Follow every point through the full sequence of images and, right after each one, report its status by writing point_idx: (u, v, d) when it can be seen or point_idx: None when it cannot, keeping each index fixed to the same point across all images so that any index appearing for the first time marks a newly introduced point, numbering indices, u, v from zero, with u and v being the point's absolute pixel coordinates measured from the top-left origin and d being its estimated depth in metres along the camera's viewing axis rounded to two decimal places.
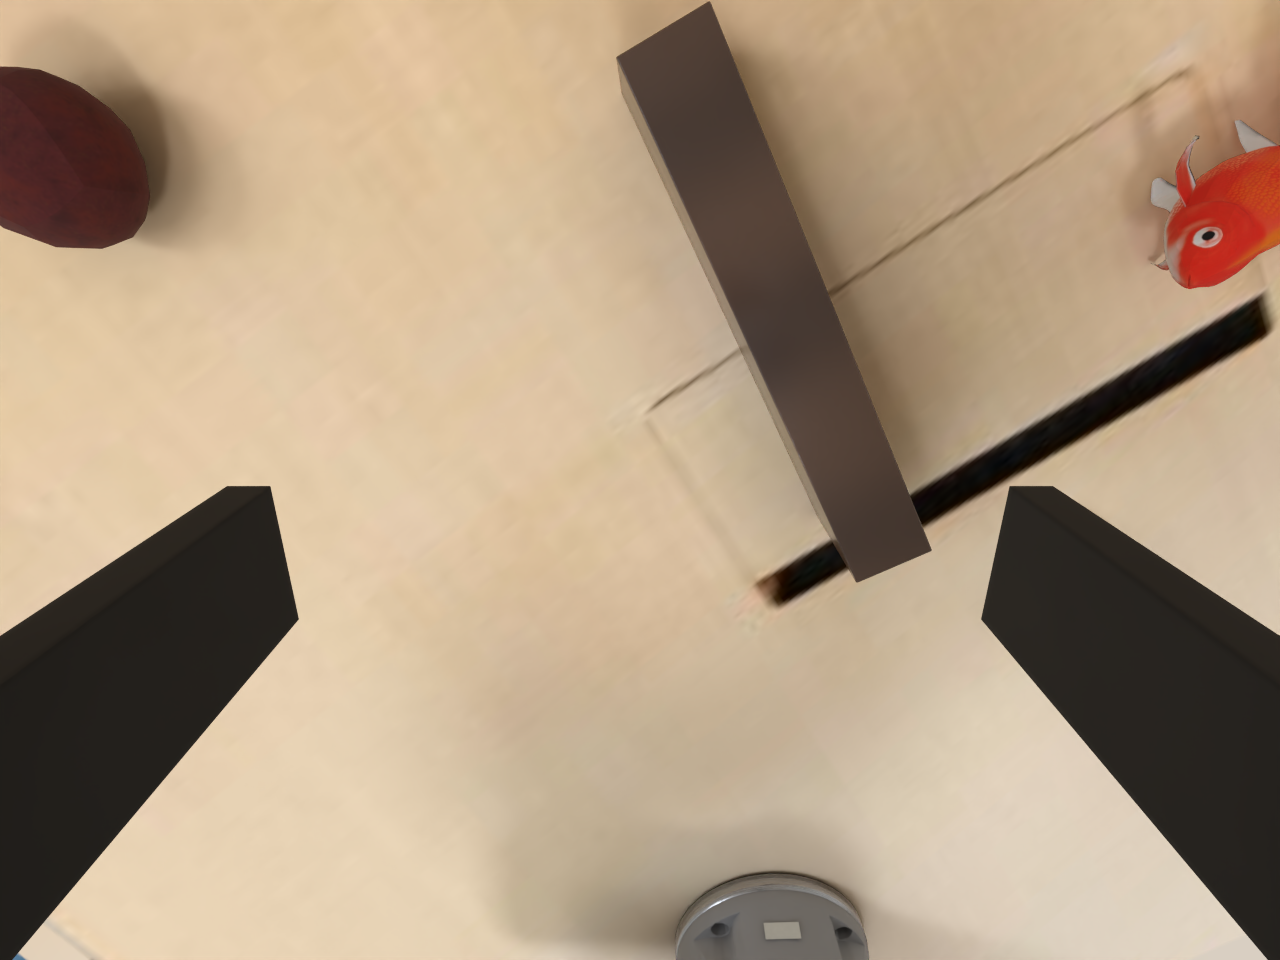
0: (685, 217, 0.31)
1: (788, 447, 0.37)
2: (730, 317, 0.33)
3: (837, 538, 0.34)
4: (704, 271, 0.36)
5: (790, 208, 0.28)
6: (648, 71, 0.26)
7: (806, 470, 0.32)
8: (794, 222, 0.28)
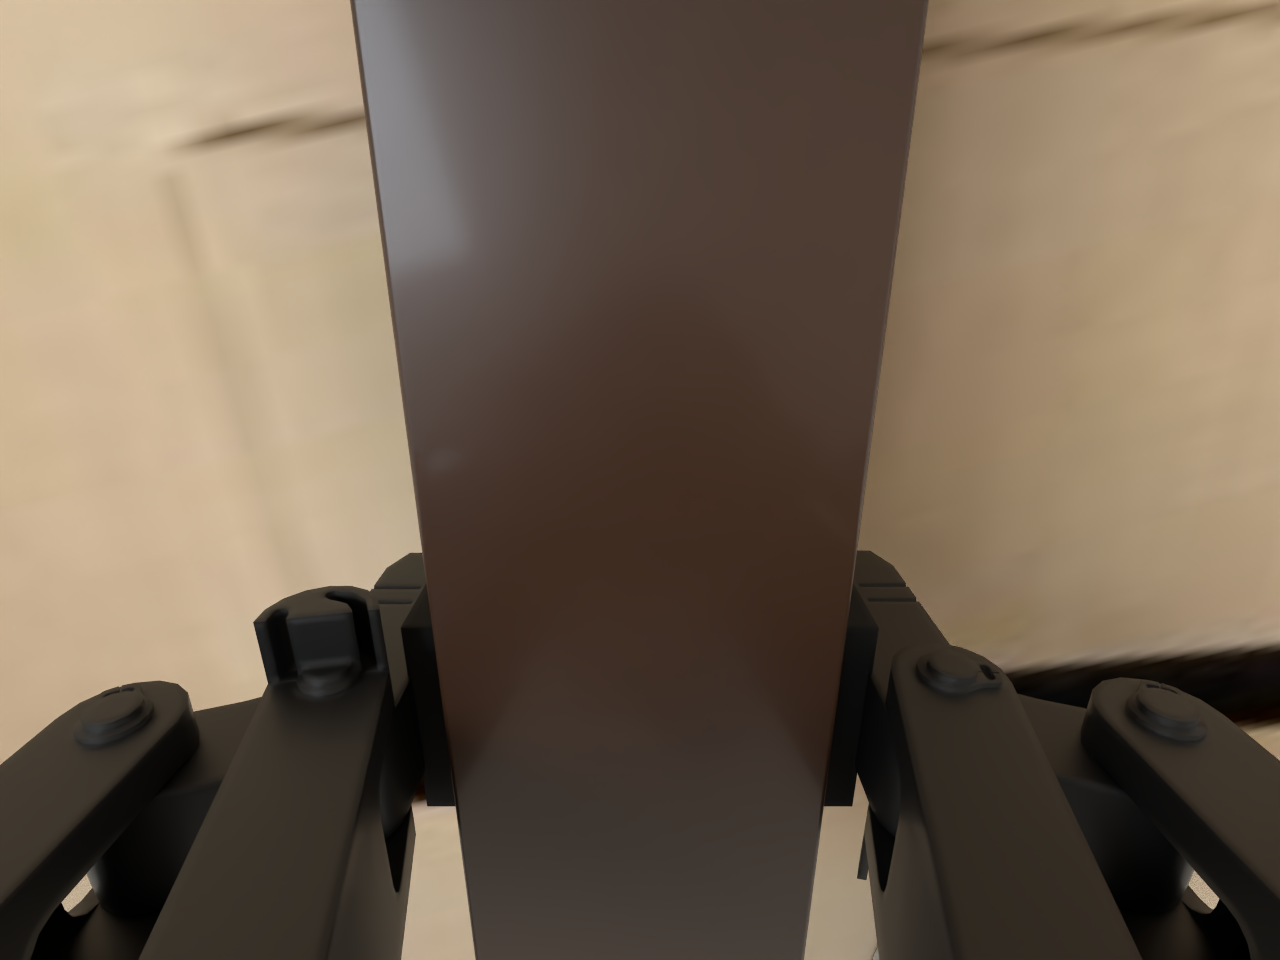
0: None
1: None
2: None
3: (467, 872, 0.08)
4: None
5: None
6: None
7: (427, 554, 0.06)
8: None
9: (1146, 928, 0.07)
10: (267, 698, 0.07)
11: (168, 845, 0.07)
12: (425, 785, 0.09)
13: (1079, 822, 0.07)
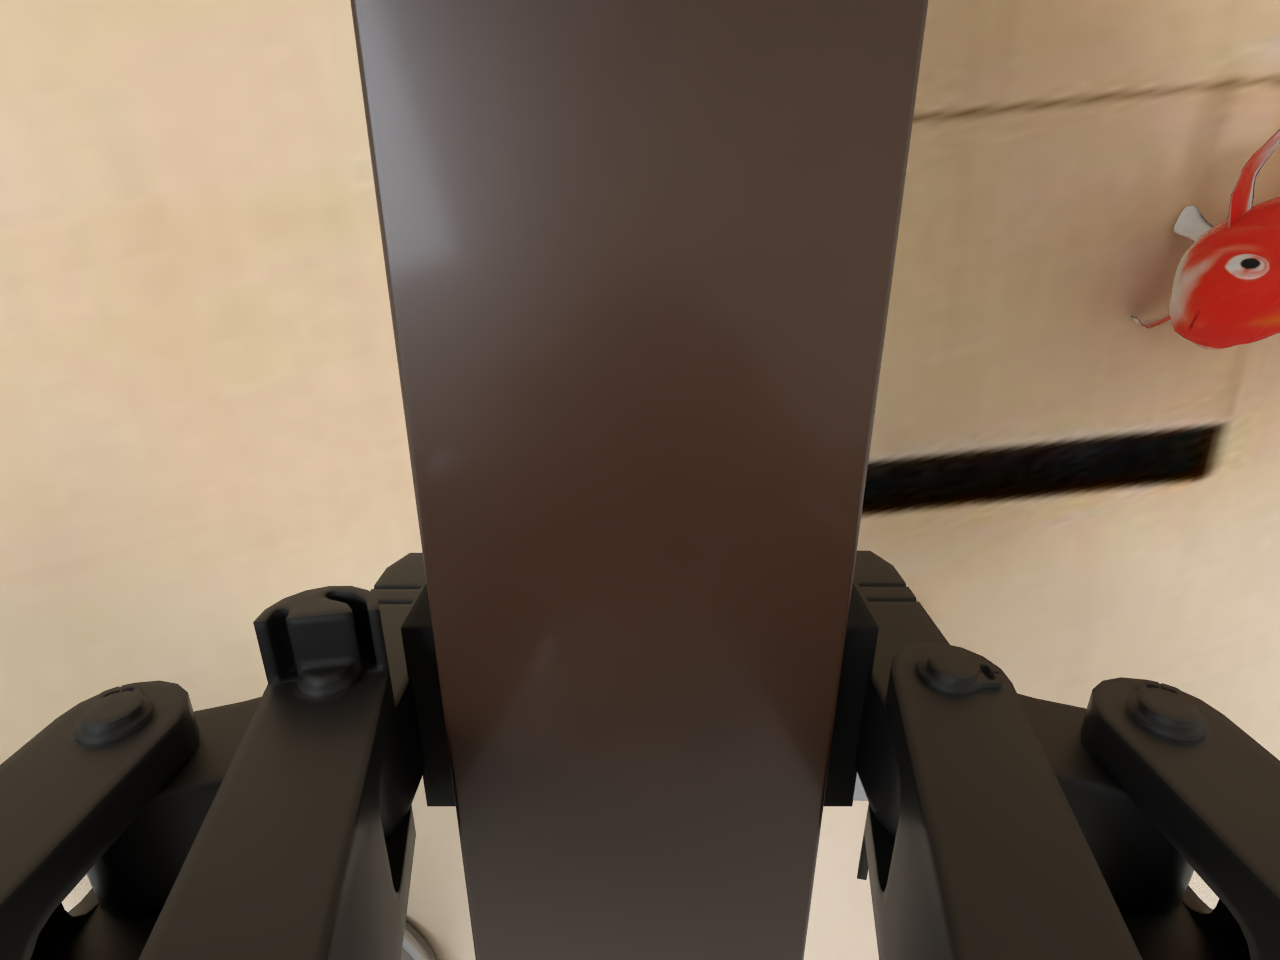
0: None
1: None
2: None
3: (467, 870, 0.08)
4: None
5: None
6: None
7: (427, 552, 0.06)
8: None
9: (1146, 928, 0.07)
10: (268, 698, 0.07)
11: (168, 845, 0.07)
12: (425, 785, 0.09)
13: (1079, 822, 0.07)
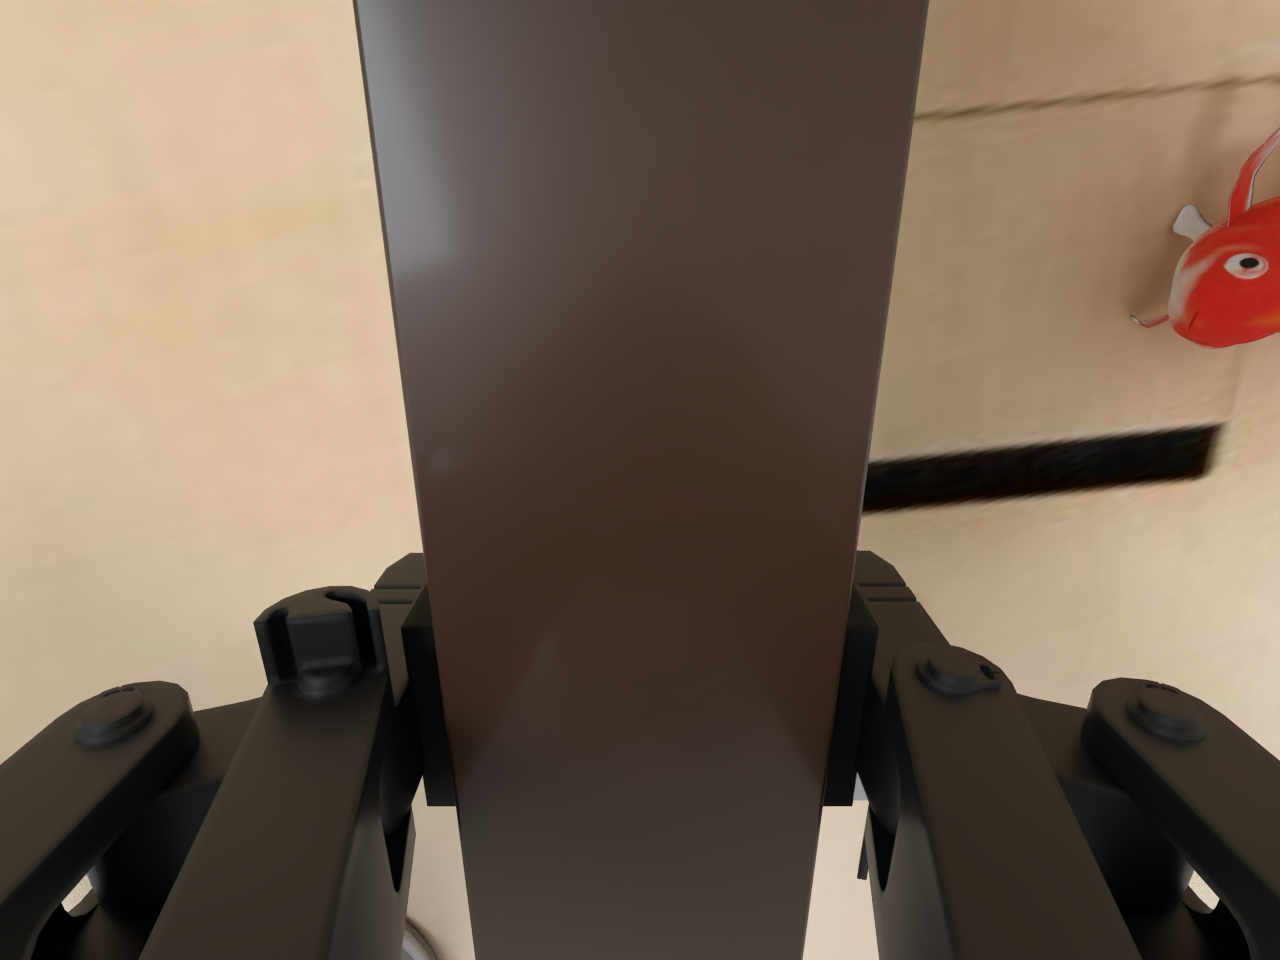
0: None
1: None
2: None
3: (467, 869, 0.08)
4: None
5: None
6: None
7: (427, 550, 0.06)
8: None
9: (1146, 928, 0.07)
10: (267, 698, 0.07)
11: (168, 845, 0.07)
12: (425, 785, 0.09)
13: (1079, 822, 0.07)
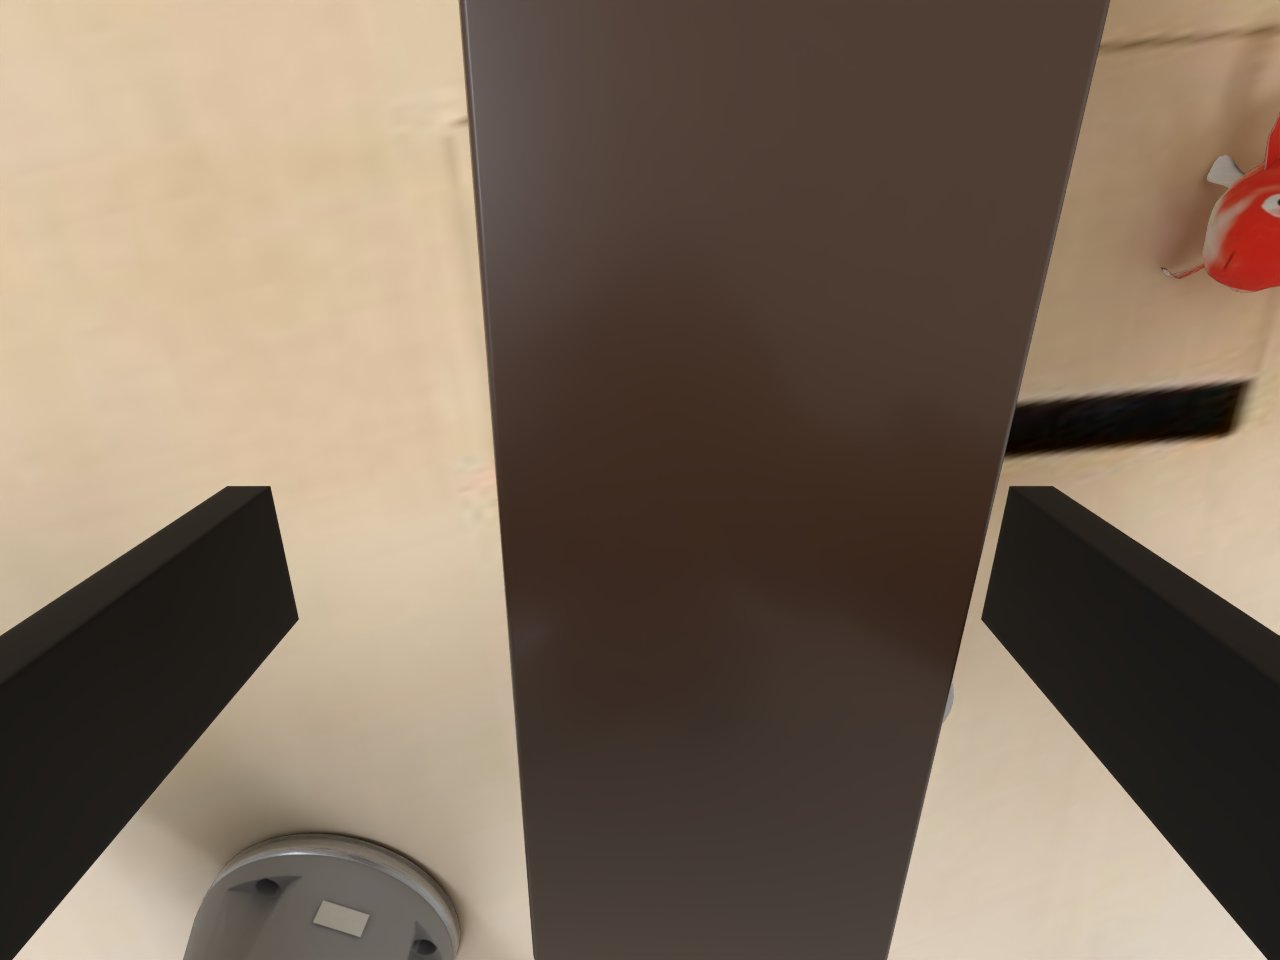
0: None
1: None
2: None
3: (524, 775, 0.07)
4: None
5: None
6: None
7: (493, 363, 0.05)
8: None
9: None
10: None
11: None
12: None
13: None
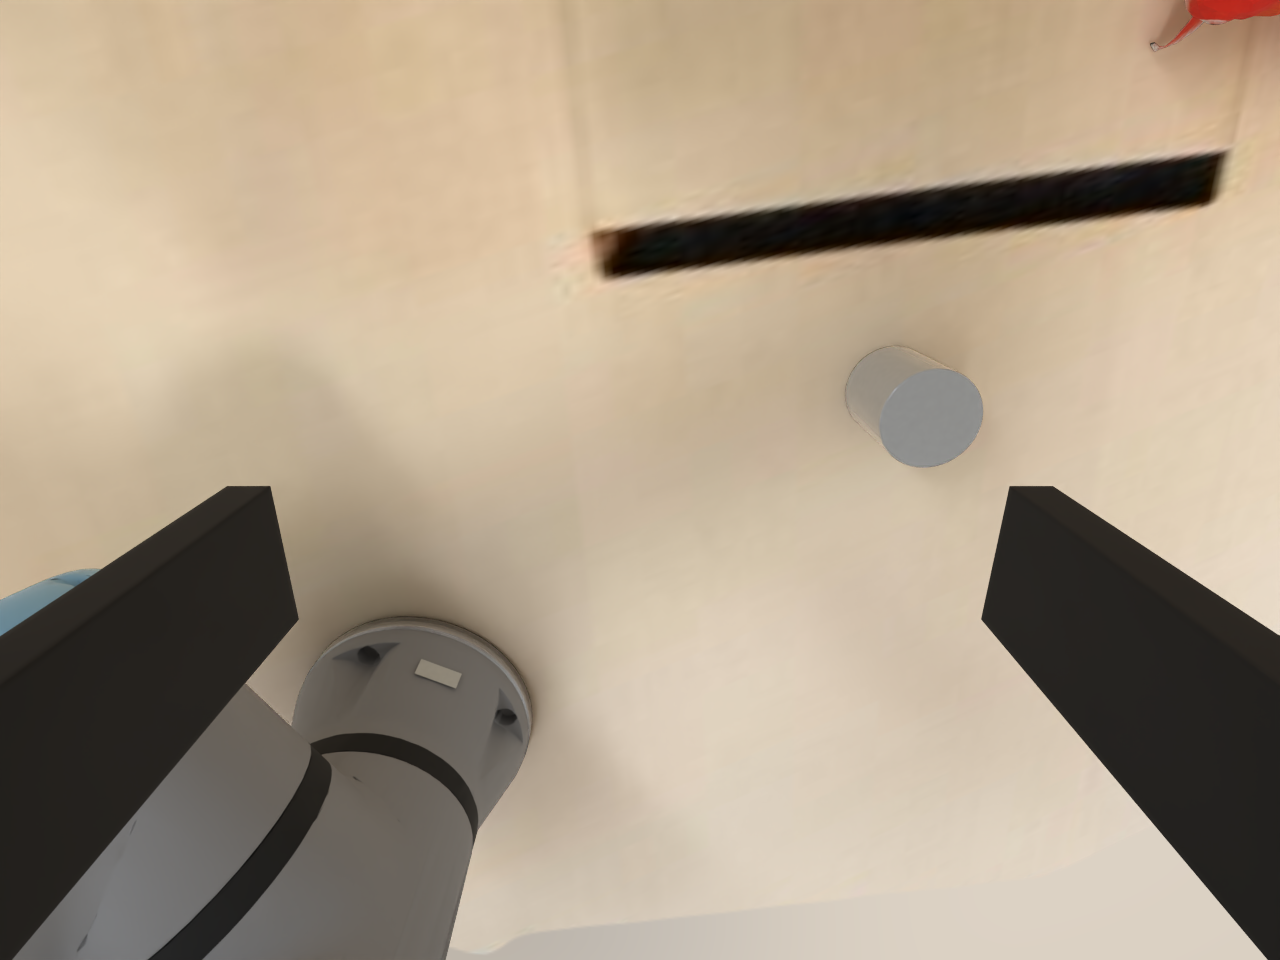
0: None
1: None
2: None
3: None
4: None
5: None
6: None
7: None
8: None
9: None
10: None
11: None
12: None
13: None
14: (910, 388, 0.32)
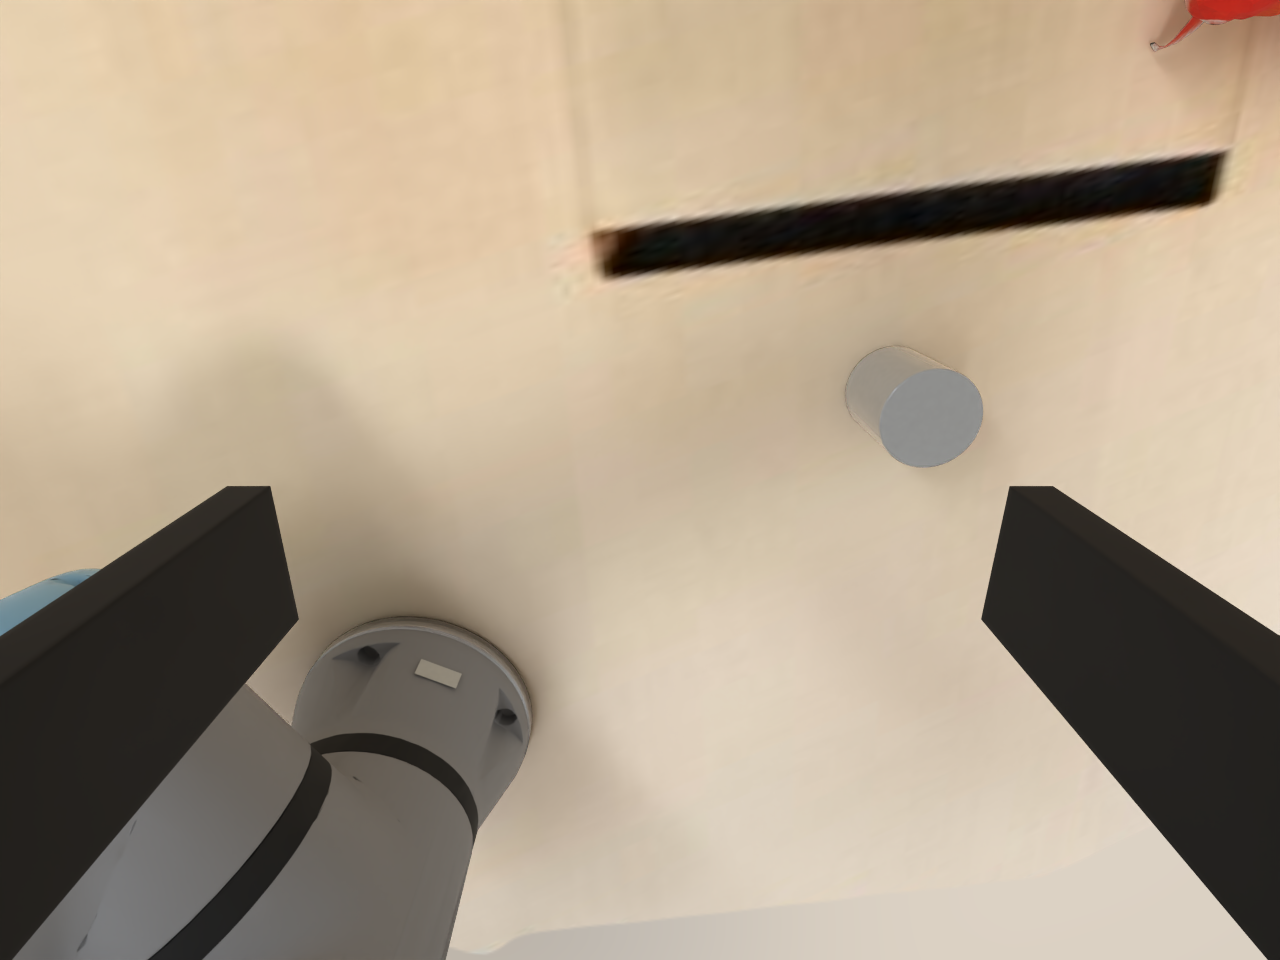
0: None
1: None
2: None
3: None
4: None
5: None
6: None
7: None
8: None
9: None
10: None
11: None
12: None
13: None
14: (910, 388, 0.32)
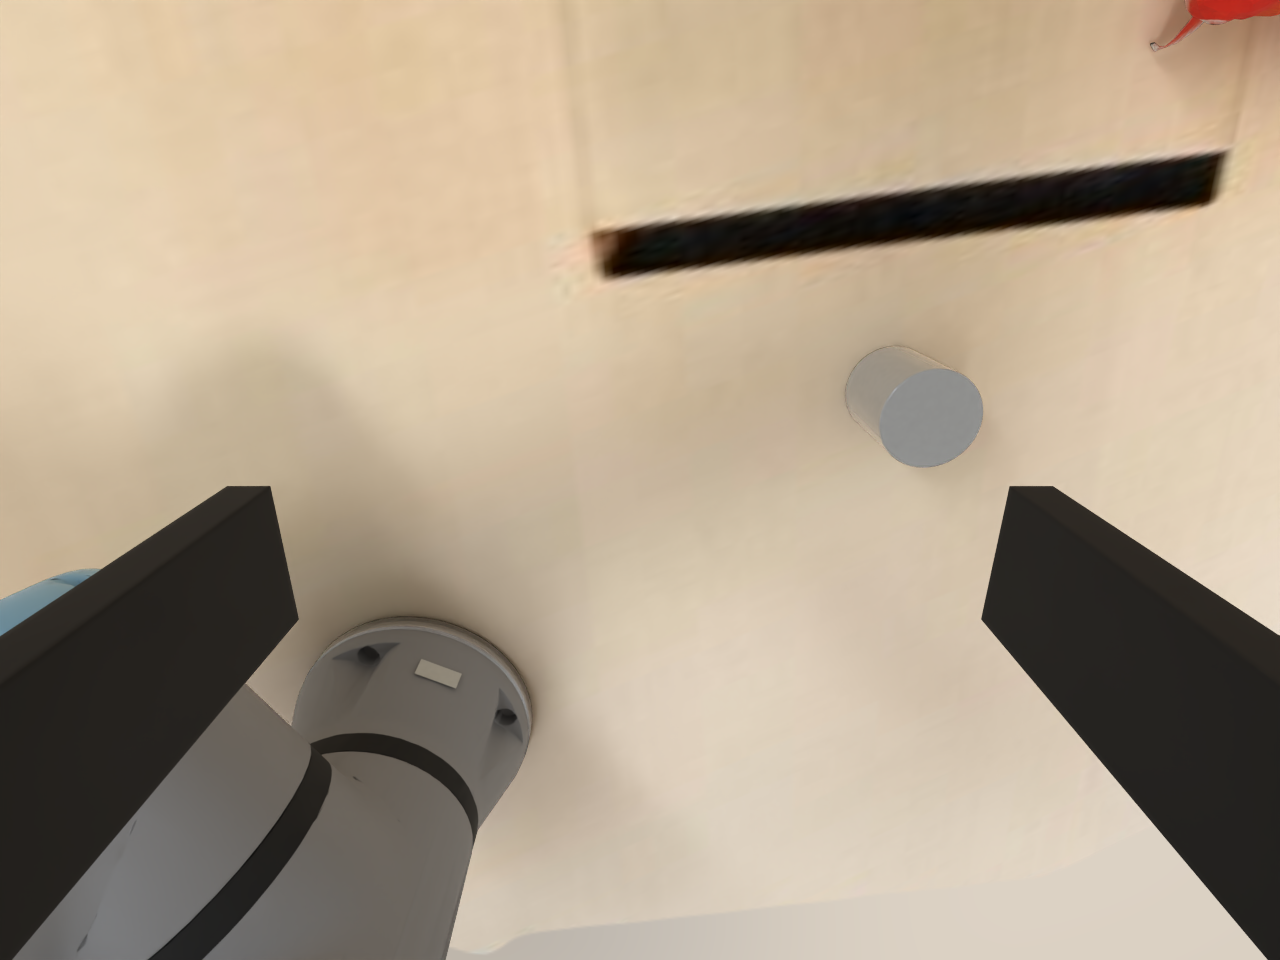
0: None
1: None
2: None
3: None
4: None
5: None
6: None
7: None
8: None
9: None
10: None
11: None
12: None
13: None
14: (910, 388, 0.32)
